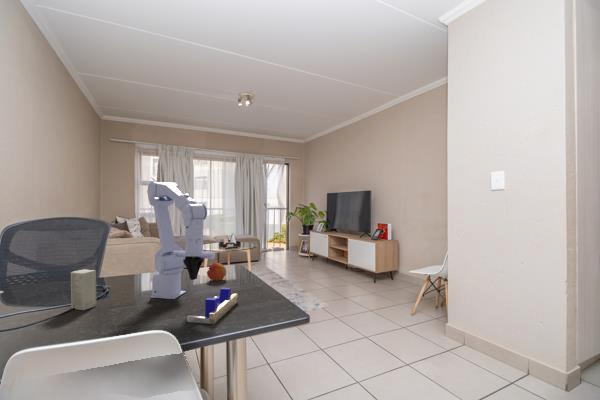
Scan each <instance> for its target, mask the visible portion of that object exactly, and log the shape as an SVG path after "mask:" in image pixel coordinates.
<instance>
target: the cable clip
mask: <svg viewBox="0 0 600 400" xmlns="http://www.w3.org/2000/svg"><path fill="white" fill-rule="evenodd" d="M231 291H232V289H231V287H221V288H220V291H219V293H220V294H219V295H217V297H216V298H214V297H207V298H205V299H204V300H205V301H204V303H205V304H204V305H205V307H204V308H205V310H204V312H205V313H204V317H209V313H211V312H212V311H213V310H214V309H215V308H217V307H218V306H219V305H220V304H221V303H223V302H224V301H225V300H226V299H227V298H229V297H230V296H231V295H232V294H231Z"/></svg>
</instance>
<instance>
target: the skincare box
mask: <svg viewBox="0 0 600 400" xmlns="http://www.w3.org/2000/svg"><path fill="white" fill-rule="evenodd" d="M70 300H71V301H70V302H71V303H70V306H71V309H73V308H75V309H74V310H80V311H86V310H88V309H91V308H95V307H97V270H95V269H87V268H86V269H85V268H83V269H79V270H74V271H71V272H70Z"/></svg>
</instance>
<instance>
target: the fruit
mask: <svg viewBox="0 0 600 400" xmlns="http://www.w3.org/2000/svg"><path fill="white" fill-rule="evenodd" d="M206 275H207V278H209V279H210V280H212V281H217V282H218V281H222V280H224V278H225V276H226V275H227V269H226V267H225V266H224V264H222V263H220V262H214V263H212V264H211V265H210V266H209V267H208V270H207V272H206Z"/></svg>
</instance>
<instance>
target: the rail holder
mask: <svg viewBox="0 0 600 400" xmlns="http://www.w3.org/2000/svg"><path fill="white" fill-rule="evenodd" d="M238 294H239V293H232V294H231V296H230V297H229V298H227V299H226V300H225V301H224V302H223V303H221V304H220V305H219V306H218V307H217V308H215V309H214V310H213V311H212V312H211V313H209V317H205V316H201V315H200V316H198V315H187V317H186V322H188V323H196V324H197V323H198V324H205V325H208V324H209V325H215V324H216V323H218V321H219V320H220V319H221V318H222V317H223V316H225V314H226V313H227V312H229V311H230V310H231V309H232V308H233V307H234V306H235V305H236V304H237V303H238V301H239V300H238V296H239V295H238ZM217 296H218V295H217ZM217 296H216V295H215V296H213V298H216V297H217Z"/></svg>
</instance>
